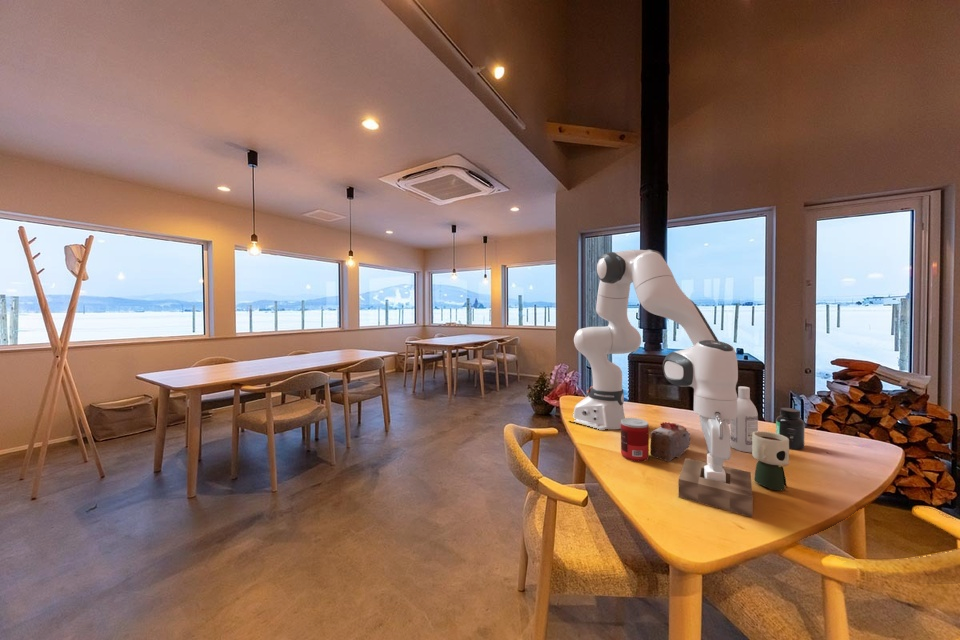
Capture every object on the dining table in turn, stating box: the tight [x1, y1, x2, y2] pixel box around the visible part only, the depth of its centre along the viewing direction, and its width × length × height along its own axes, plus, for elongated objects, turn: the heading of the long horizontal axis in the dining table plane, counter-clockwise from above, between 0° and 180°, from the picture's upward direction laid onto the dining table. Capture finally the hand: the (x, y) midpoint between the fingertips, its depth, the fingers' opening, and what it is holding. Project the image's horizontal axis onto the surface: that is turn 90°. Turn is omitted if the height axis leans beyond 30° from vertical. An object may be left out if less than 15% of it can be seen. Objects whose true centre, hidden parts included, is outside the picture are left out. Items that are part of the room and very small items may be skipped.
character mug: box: [751, 430, 790, 491], centre depth 86 cm, size 11×7×13 cm, turn 119°
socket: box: [678, 457, 754, 519], centre depth 83 cm, size 14×14×4 cm
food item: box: [649, 421, 691, 463], centre depth 106 cm, size 14×8×10 cm, turn 130°
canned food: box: [620, 417, 650, 463], centre depth 105 cm, size 8×8×11 cm
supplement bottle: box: [775, 407, 806, 451], centre depth 110 cm, size 7×7×12 cm
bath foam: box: [729, 385, 759, 454], centre depth 109 cm, size 7×7×20 cm
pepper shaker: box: [704, 453, 726, 483], centre depth 83 cm, size 4×4×10 cm
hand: (714, 462), depth 83 cm, fingers open, 8 cm apart
